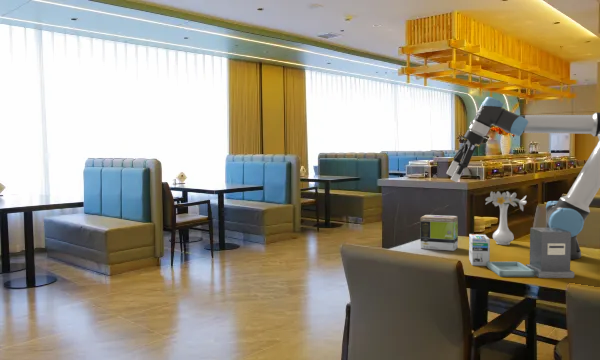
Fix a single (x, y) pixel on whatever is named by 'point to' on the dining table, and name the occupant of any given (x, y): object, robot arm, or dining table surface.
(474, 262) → the light bulb box
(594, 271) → the dining table surface
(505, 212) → the flower vase
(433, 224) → the tea box
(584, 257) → the dining table surface
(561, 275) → the control unit
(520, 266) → the tray
